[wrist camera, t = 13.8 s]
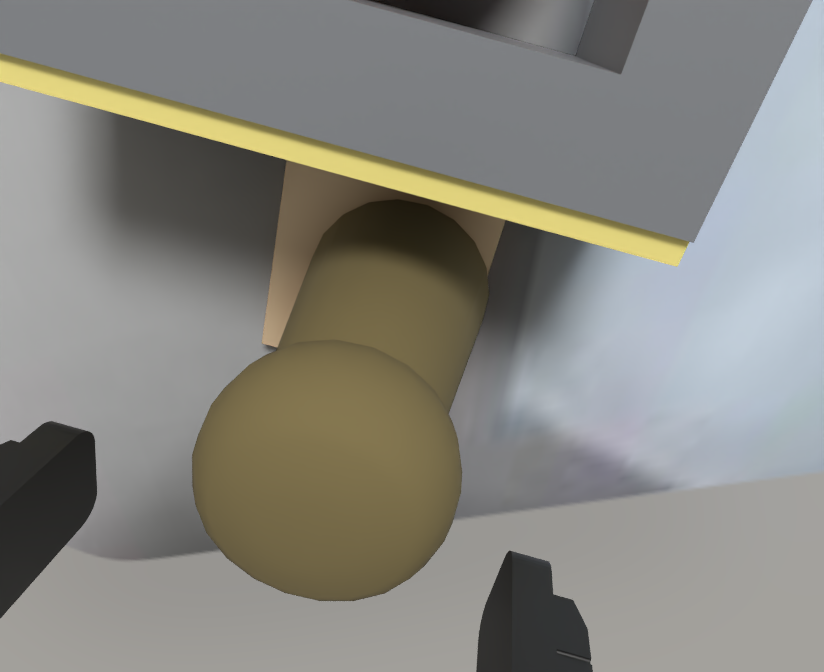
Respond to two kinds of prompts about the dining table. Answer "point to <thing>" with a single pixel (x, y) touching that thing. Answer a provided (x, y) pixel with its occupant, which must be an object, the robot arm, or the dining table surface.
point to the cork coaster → (318, 210)
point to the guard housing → (439, 98)
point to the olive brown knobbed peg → (350, 412)
